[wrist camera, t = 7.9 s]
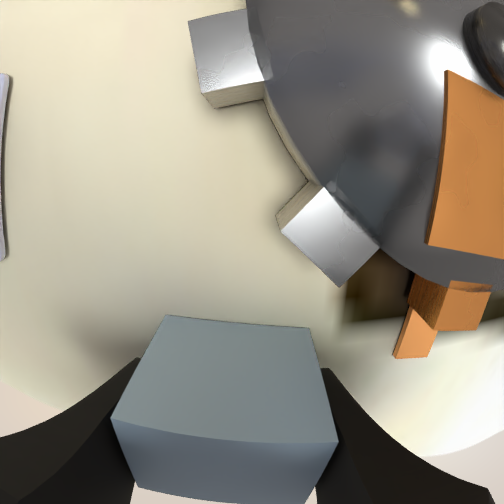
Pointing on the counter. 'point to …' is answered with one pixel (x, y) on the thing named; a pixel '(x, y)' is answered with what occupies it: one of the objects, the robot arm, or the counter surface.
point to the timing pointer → (414, 337)
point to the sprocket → (380, 133)
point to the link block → (227, 413)
